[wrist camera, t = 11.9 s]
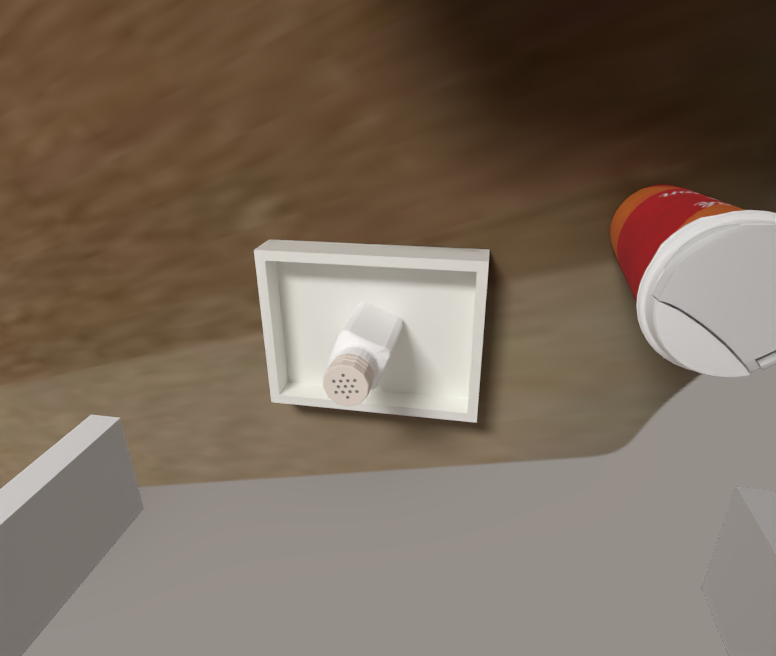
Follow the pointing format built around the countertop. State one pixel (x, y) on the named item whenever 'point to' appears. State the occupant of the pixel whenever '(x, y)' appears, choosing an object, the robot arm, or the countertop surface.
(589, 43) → the countertop surface
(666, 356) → the coffee cup
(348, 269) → the bin
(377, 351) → the salt shaker
